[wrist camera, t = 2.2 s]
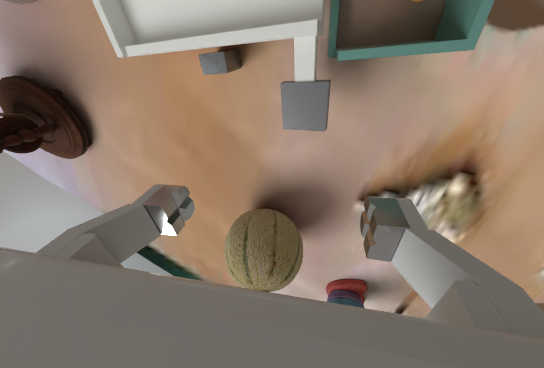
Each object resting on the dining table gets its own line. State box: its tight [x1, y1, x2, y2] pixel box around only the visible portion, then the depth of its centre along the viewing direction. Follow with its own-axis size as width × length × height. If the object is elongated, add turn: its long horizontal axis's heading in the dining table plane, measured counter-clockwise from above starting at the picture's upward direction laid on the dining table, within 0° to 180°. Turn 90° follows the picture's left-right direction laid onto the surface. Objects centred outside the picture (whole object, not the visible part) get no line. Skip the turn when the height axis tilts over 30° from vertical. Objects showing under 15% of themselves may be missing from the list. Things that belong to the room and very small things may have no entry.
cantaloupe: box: [224, 209, 303, 292], centre depth 37 cm, size 15×15×15 cm
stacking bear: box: [326, 279, 367, 308], centre depth 46 cm, size 11×10×18 cm
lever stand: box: [199, 50, 241, 75], centre depth 21 cm, size 12×3×5 cm, turn 5°
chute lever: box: [92, 0, 331, 131], centre depth 21 cm, size 16×25×4 cm, turn 95°
